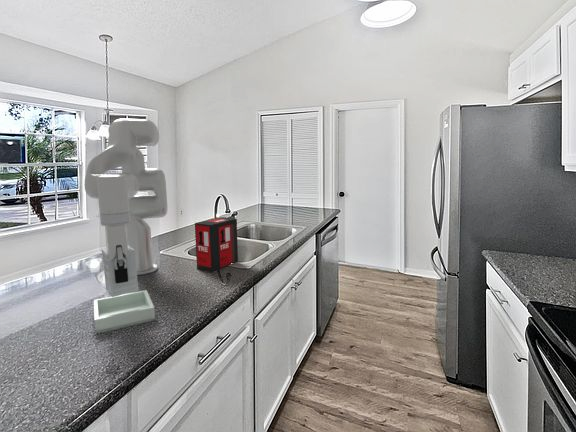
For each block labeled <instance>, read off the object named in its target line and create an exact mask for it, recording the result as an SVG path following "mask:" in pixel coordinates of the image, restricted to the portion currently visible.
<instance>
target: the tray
mask: <svg viewBox="0 0 576 432" xmlns="http://www.w3.org/2000/svg"><path fill="white" fill-rule="evenodd" d="M93 309H94V310H93V318H94V319H93V320H94V327H95V328H94V329H95V334H96V333H98V334H101V332H102V333H106V332H110V331H115V330H119V329H123V328H127V327H132V326H136V325H141V324H144V323H150V322H153V321H156V314H155V313H156V312H155V305H154V303H153V301H152V299H151V296H150V294H149V293H148V290H147V289H145V290H138V291H135V292H131V293H127V294H123V295H119V296H115V297H111V296H106V297H102V298H96V299H93Z"/></svg>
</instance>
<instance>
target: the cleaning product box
mask: <svg viewBox="0 0 576 432" xmlns="http://www.w3.org/2000/svg"><path fill="white" fill-rule="evenodd" d="M194 231H195V232H194V235H195V253H196V254H195V255H196V270H200V271H205V272H208V273H209V272H210V273H216V272H217V271H219V270H222V269H224V268H227V267H230V266H231V265H230V264H231V263H234V264H237V263H238V262H239V255H238V254H239V252H238V251H239V249H238V219H237V218H233V217H225V216H221V217H216V218H212V219H207V220H202V221H198V222H194ZM229 265H230V266H229Z"/></svg>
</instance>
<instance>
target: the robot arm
mask: <svg viewBox="0 0 576 432" xmlns="http://www.w3.org/2000/svg"><path fill="white" fill-rule="evenodd" d="M107 131H108V140H107V147H106V148H105V149H103V150H102V151H101V152H99V153H97V155H95V156H94V157H92V159H91V160H90V161H89V162H88V164H87V167H86V171H85V177H84V190H85V193H86V195H87V196H88V197H89V198H91V199H97V200H98V209H99V218H100V219H99V221H100V226H102V227H104V228H105V229H104V230H105V243H106V244H105V245H106V249H107V252H108V256H109V261H111V260H114V261H115V269H114V271H115V282H116V283H123V282H128V271H127V268H126V260H125V259H127V258H128V246H130V247H131V248H133V249H134V250H135V258H136V270H137V276H139V275H147V274H151V273H153V272H155V271H157V270H158V265H157V264H155V263H154V257H153V255H154V254H153V244H152V243H153V242H152V229H151V227H150V225H149V224H148V223H147V221H145V220H146V219H158V218H164V217H166V216H167V214H168V209H169V207H168V194H167V182H166V175H165V173H164V171H163V170H162V169H160V168H156V167H153V168H152V167H150V168H149V167H148V168H147V167H146V165H145V155H144V153H143V152H142V150H140V149H139V148H138V147H155V146H156V145H158V143H159V139H160V132H159V129H158V125H156V124H155V122H154V121H152V120H149V119H144V118H143V119H141V118H140V119H139V118H118V119H115V120H114V121H112V122H111V124H110V125H109V126H108V129H107ZM120 167H121V172H119V173H118V172H114V173H113V172H110V173H108V171H112V170H115V169H118V168H120ZM143 192H144V193H146V192H147V193H148V192H151V193H154V194H146V195H145V194H142V195H141V194H140V195H139V194H138V193H143ZM137 194H138V195H137ZM116 248H117V251H116ZM116 253H117V255H118V258H116V256H115V255H116ZM125 255H126V257H125ZM123 256H124V257H123ZM117 261H118V262H117Z"/></svg>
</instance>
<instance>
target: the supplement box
mask: <svg viewBox="0 0 576 432" xmlns="http://www.w3.org/2000/svg"><path fill="white" fill-rule="evenodd" d="M116 251H117V248H116ZM101 255H102V263H103V272H104V284H105V290H106V291H107V293H108V294H109V296H110V297H115V296H119V295H123V294H128V293H133V292H139V282H138V275H137V270H136V258H135V250H134V249H133V248H131V247H130V246H128V258H127V259H125V260H126V268H127V271H128V282H123V283H116V282H115V271H114V269H115V261H114V260H111V261H109V256H108V252H107V248H102V249H101ZM115 256H116V258H118V255H117V253H116V255H115ZM123 257H124V256H123ZM125 257H126V255H125ZM117 262H118V261H117Z"/></svg>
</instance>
